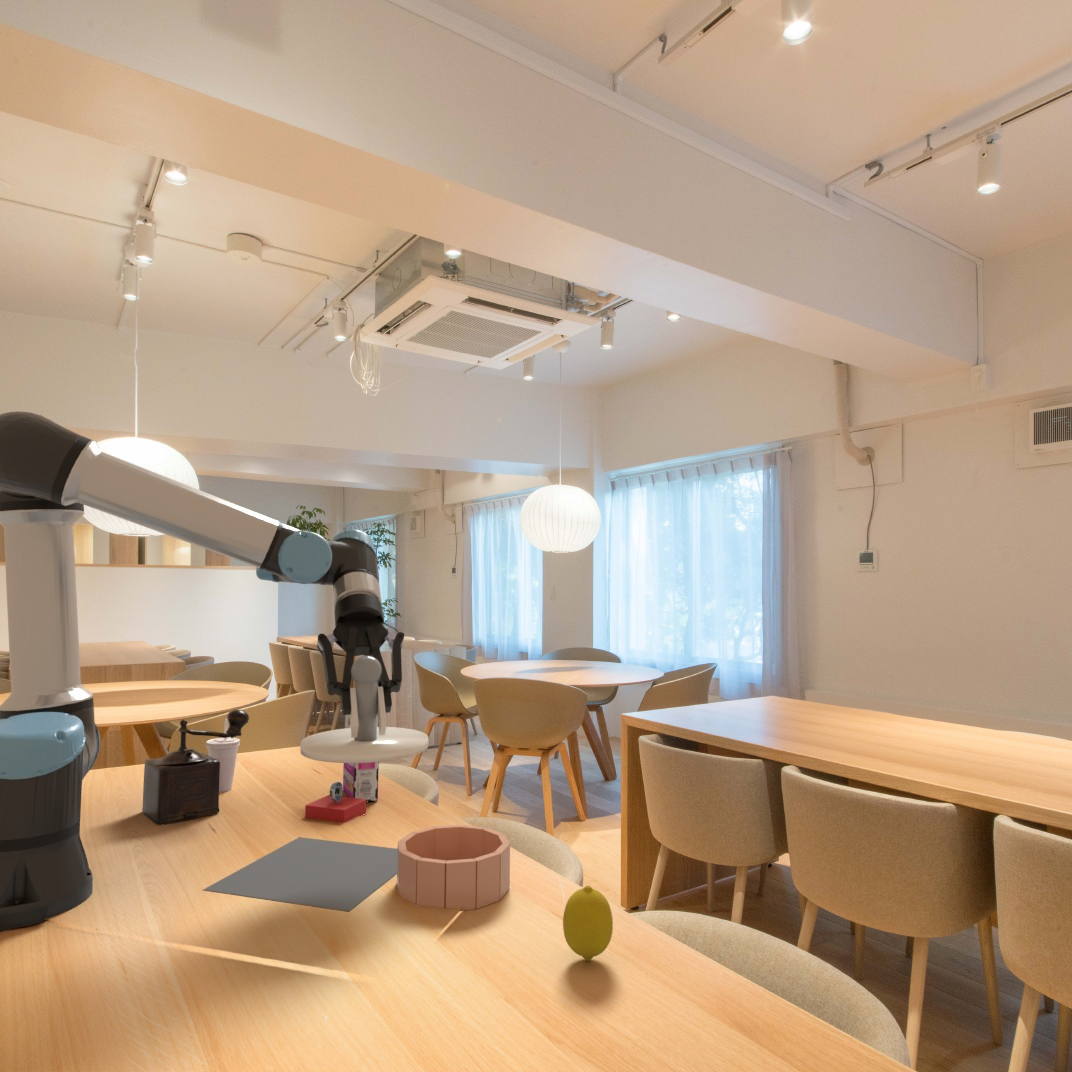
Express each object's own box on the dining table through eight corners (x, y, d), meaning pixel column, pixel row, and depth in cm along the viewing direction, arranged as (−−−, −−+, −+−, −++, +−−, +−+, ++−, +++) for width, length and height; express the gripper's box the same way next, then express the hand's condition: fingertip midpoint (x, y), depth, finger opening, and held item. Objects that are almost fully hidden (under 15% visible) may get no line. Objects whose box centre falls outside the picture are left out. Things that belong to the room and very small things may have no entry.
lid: (393, 767, 98) (395, 664, 99) (273, 757, 103) (275, 660, 104) (447, 738, 115) (448, 651, 116) (342, 731, 120) (343, 648, 121)
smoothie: (226, 794, 147) (228, 722, 148) (196, 792, 149) (199, 720, 149) (245, 786, 154) (247, 716, 154) (216, 784, 155) (219, 715, 156)
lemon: (554, 965, 83) (554, 890, 83) (575, 944, 88) (575, 873, 88) (601, 978, 80) (601, 900, 81) (620, 955, 85) (620, 882, 85)
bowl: (485, 917, 94) (486, 868, 95) (377, 902, 98) (378, 855, 99) (521, 873, 109) (522, 831, 109) (426, 862, 113) (426, 821, 113)
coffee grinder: (158, 827, 128) (162, 719, 129) (140, 812, 136) (144, 711, 137) (250, 809, 138) (253, 709, 139) (228, 796, 146) (231, 702, 148)
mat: (349, 915, 95) (349, 911, 95) (202, 893, 101) (202, 889, 101) (424, 855, 116) (424, 851, 116) (299, 840, 122) (299, 837, 122)
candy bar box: (379, 801, 144) (381, 714, 145) (353, 804, 142) (355, 716, 143) (366, 787, 154) (368, 705, 155) (341, 789, 152) (343, 707, 153)
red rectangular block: (305, 821, 132) (305, 784, 133) (328, 810, 139) (329, 775, 139) (343, 826, 130) (344, 789, 130) (365, 815, 136) (366, 779, 136)
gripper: (405, 621, 127) (423, 742, 111) (304, 623, 122) (307, 750, 105) (411, 590, 123) (430, 711, 106) (306, 591, 117) (309, 718, 101)
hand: (369, 730), depth 106 cm, fingers closed on lid, 3 cm apart
